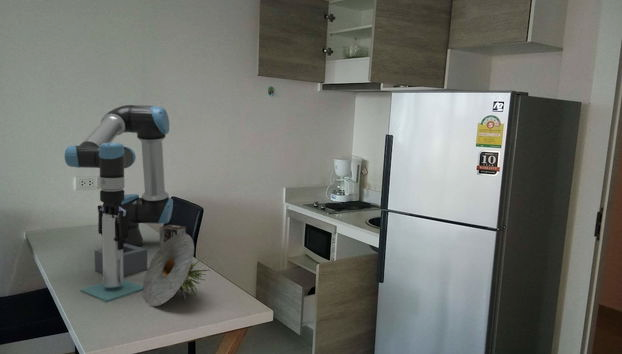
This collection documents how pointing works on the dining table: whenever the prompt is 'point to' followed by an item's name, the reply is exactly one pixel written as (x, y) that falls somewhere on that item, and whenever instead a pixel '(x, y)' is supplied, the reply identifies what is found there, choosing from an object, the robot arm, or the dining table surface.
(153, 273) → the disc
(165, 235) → the coffee box
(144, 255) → the grey hollow square block
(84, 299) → the dining table surface
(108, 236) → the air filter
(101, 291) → the teal mat
